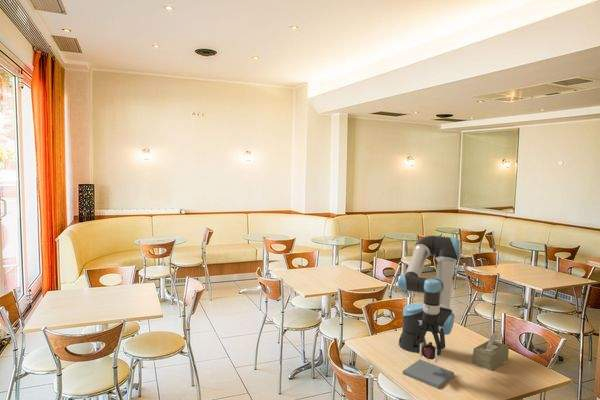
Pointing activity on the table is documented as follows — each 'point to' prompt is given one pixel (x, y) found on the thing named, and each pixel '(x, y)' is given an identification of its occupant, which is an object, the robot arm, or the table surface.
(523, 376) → the table surface
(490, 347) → the tissue box
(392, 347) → the table surface
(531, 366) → the table surface
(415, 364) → the slate plate
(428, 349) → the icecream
